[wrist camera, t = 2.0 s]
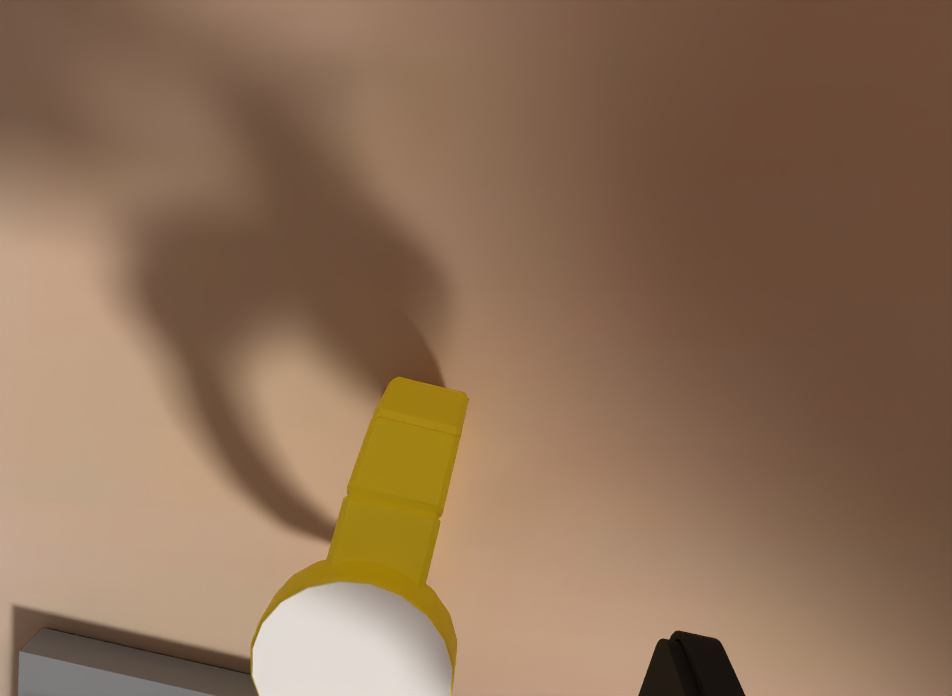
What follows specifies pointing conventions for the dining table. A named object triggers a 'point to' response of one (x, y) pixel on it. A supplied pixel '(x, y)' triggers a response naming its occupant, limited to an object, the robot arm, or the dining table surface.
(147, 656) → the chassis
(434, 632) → the watch
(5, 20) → the dining table surface
